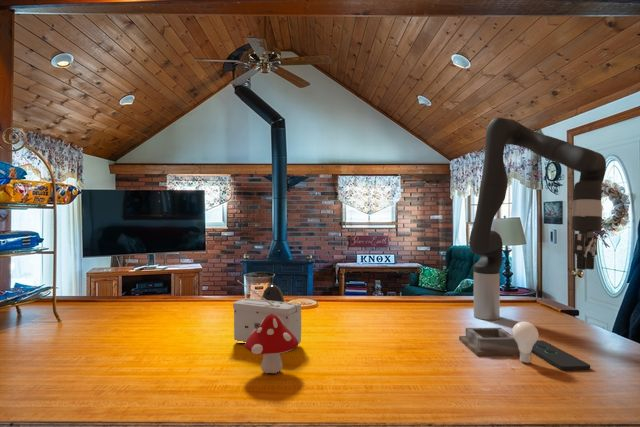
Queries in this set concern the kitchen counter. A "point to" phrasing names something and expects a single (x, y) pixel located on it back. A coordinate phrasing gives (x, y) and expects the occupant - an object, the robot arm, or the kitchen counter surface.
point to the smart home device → (558, 357)
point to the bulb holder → (490, 342)
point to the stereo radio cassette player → (256, 310)
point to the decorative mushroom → (271, 343)
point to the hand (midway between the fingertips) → (585, 269)
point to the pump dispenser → (273, 294)
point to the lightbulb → (525, 339)
